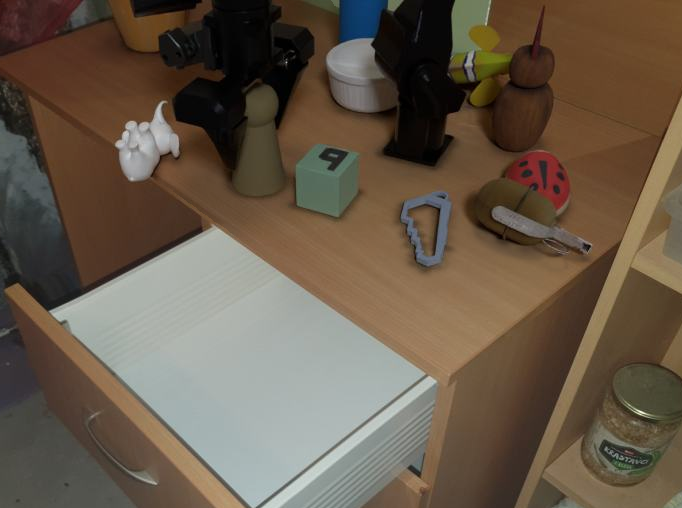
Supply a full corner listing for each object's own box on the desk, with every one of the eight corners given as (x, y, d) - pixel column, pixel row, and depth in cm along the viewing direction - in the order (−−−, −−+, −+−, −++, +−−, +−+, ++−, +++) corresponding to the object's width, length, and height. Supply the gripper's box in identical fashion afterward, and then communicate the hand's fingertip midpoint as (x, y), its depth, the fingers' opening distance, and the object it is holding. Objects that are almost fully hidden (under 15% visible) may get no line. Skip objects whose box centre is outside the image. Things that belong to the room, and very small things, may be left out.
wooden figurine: (506, 124, 88) (531, -4, 77) (551, 138, 85) (583, 7, 75) (479, 148, 84) (501, 17, 74) (524, 164, 82) (555, 30, 71)
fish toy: (515, 102, 85) (536, 100, 94) (514, 14, 82) (536, 21, 91) (395, 114, 92) (425, 112, 102) (391, 34, 90) (423, 39, 99)
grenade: (472, 213, 76) (578, 268, 73) (456, 225, 71) (569, 283, 68) (498, 162, 73) (610, 216, 70) (483, 170, 68) (603, 228, 65)
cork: (293, 188, 80) (290, 94, 72) (242, 201, 79) (233, 107, 71) (274, 161, 84) (269, 70, 76) (225, 173, 83) (215, 81, 75)
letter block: (338, 217, 76) (338, 175, 72) (296, 206, 78) (294, 163, 74) (358, 193, 79) (359, 150, 75) (317, 182, 81) (316, 140, 77)
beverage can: (384, 48, 104) (390, -42, 95) (384, 69, 99) (390, -24, 91) (339, 48, 105) (340, -41, 96) (337, 68, 100) (338, -24, 91)
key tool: (393, 268, 71) (445, 269, 69) (392, 261, 70) (445, 261, 69) (405, 198, 79) (452, 197, 77) (405, 191, 78) (452, 190, 77)
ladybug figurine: (560, 168, 80) (569, 141, 77) (574, 228, 74) (585, 200, 71) (498, 165, 80) (506, 138, 78) (507, 224, 74) (515, 196, 71)
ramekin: (343, 124, 89) (344, 84, 85) (313, 85, 97) (313, 46, 93) (426, 108, 91) (431, 67, 87) (391, 70, 99) (393, 31, 95)
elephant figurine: (131, 81, 84) (149, 124, 90) (88, 154, 79) (109, 195, 84) (188, 85, 82) (203, 128, 87) (148, 160, 77) (166, 202, 82)
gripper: (221, -44, 76) (235, 96, 87) (111, 23, 65) (143, 174, 76) (316, -30, 72) (317, 115, 83) (216, 45, 61) (233, 200, 72)
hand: (253, 148), depth 79 cm, fingers open, 9 cm apart
